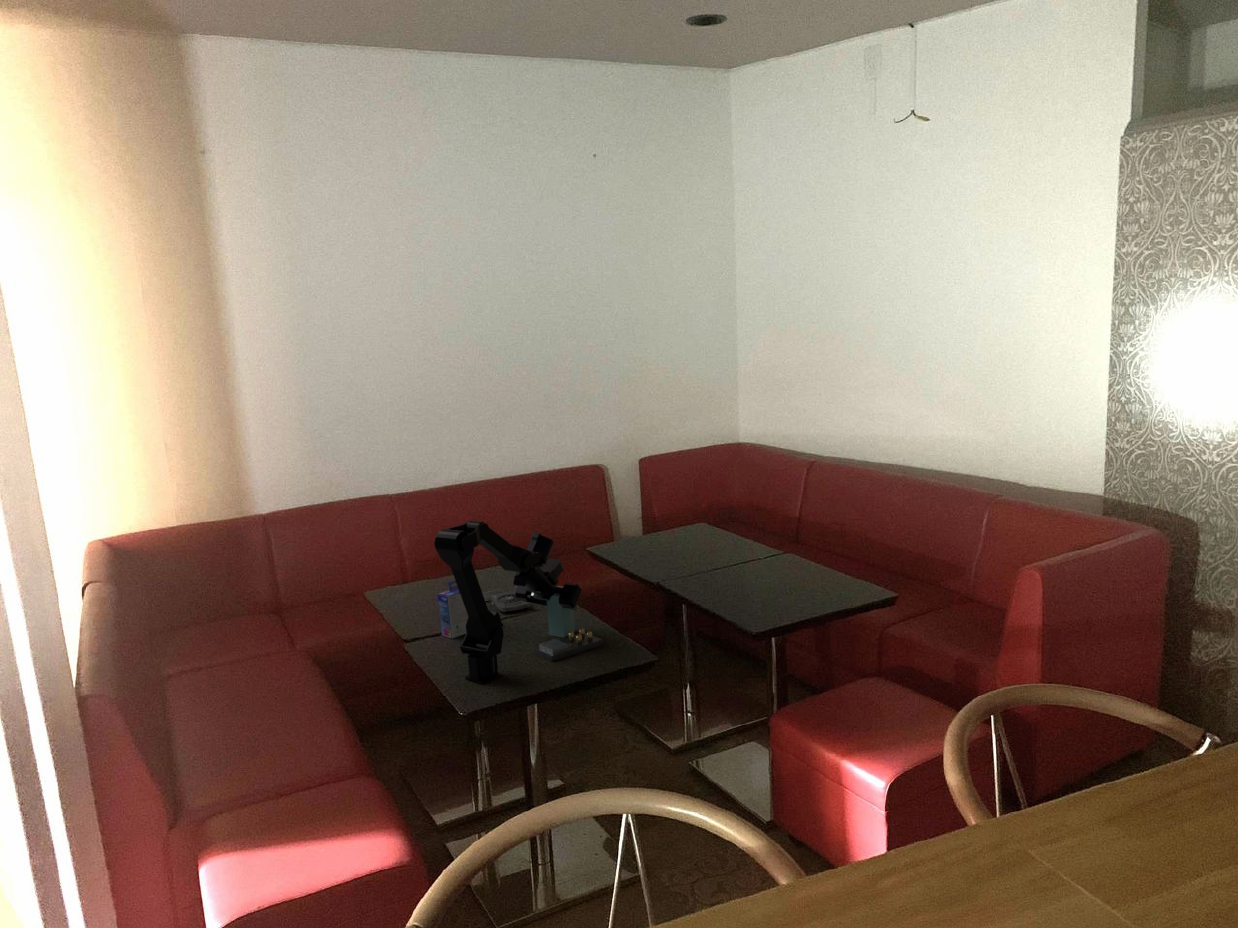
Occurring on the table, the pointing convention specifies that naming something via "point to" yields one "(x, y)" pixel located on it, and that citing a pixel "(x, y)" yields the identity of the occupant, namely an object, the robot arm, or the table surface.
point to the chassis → (567, 646)
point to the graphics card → (505, 600)
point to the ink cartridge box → (452, 612)
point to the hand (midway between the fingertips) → (561, 606)
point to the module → (559, 618)
